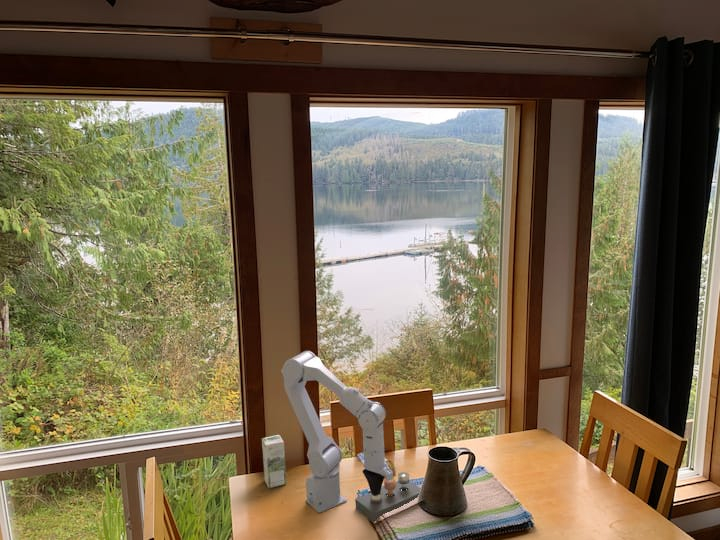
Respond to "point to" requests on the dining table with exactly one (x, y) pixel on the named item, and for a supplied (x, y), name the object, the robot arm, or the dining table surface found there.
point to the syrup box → (274, 461)
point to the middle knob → (390, 486)
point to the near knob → (376, 498)
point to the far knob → (403, 480)
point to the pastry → (391, 466)
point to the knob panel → (386, 501)
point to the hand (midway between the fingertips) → (375, 494)
